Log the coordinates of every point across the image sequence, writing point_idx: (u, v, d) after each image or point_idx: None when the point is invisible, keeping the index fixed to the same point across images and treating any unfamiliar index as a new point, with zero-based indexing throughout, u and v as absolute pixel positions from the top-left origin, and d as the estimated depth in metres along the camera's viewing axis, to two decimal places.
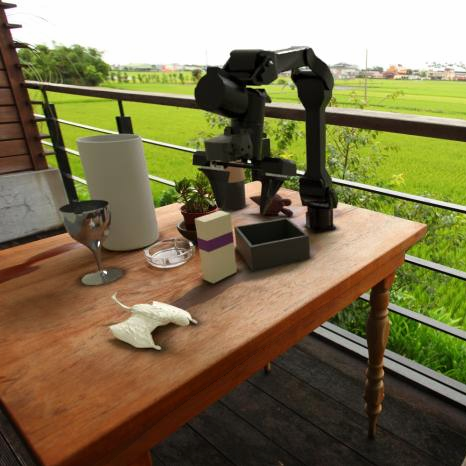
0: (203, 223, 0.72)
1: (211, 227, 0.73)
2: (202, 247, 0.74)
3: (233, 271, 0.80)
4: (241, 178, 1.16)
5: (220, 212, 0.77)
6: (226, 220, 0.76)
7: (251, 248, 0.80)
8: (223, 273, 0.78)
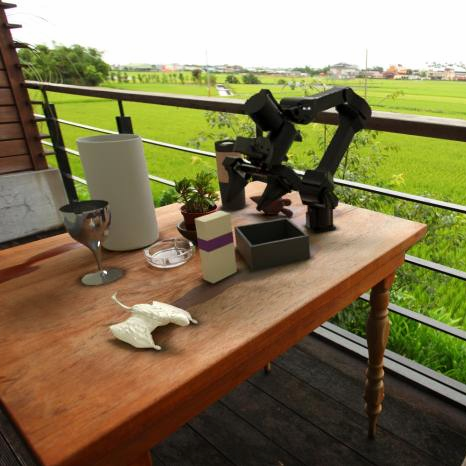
0: (203, 223, 0.72)
1: (211, 227, 0.73)
2: (202, 247, 0.74)
3: (233, 271, 0.80)
4: None
5: (220, 212, 0.77)
6: (226, 220, 0.76)
7: (251, 248, 0.80)
8: (223, 273, 0.78)
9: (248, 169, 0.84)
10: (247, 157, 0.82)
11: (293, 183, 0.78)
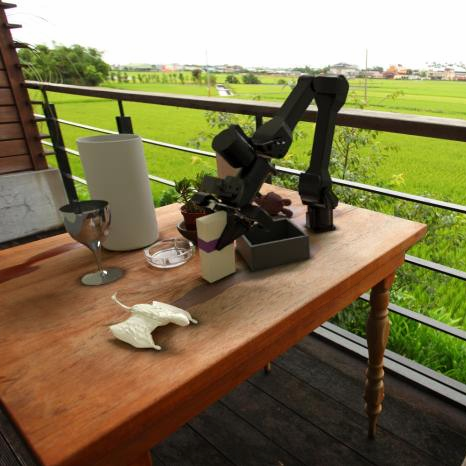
0: (203, 224, 0.71)
1: (212, 229, 0.73)
2: (202, 247, 0.74)
3: (232, 271, 0.80)
4: None
5: (222, 212, 0.76)
6: None
7: (251, 248, 0.80)
8: (221, 273, 0.78)
9: (227, 209, 0.78)
10: (217, 195, 0.77)
11: (264, 224, 0.74)
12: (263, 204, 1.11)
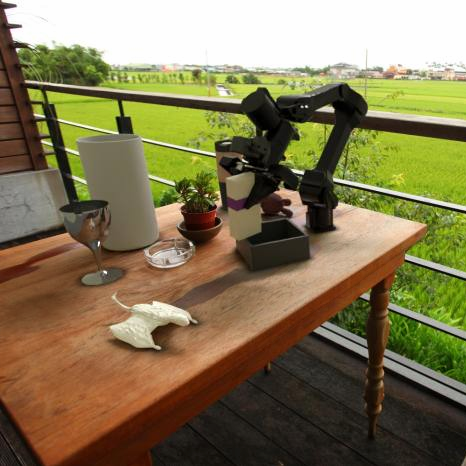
0: (233, 183, 0.75)
1: (241, 188, 0.76)
2: (231, 206, 0.78)
3: (258, 231, 0.84)
4: None
5: (250, 173, 0.79)
6: None
7: (251, 248, 0.80)
8: (248, 232, 0.82)
9: (254, 171, 0.81)
10: (244, 157, 0.80)
11: (291, 183, 0.77)
12: (263, 204, 1.11)
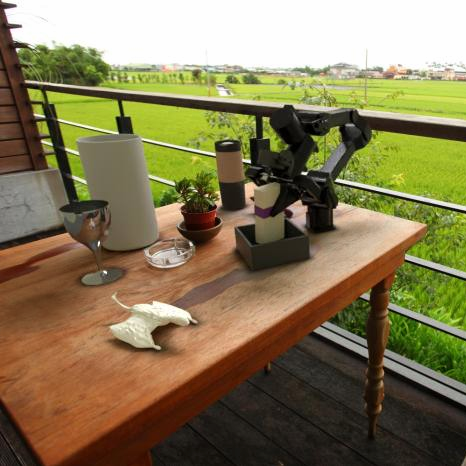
0: (261, 193, 0.81)
1: (268, 197, 0.82)
2: (258, 214, 0.84)
3: (281, 237, 0.90)
4: (241, 178, 1.16)
5: (275, 184, 0.85)
6: None
7: (251, 248, 0.80)
8: (273, 238, 0.88)
9: (279, 181, 0.88)
10: (269, 168, 0.87)
11: (314, 193, 0.83)
12: None
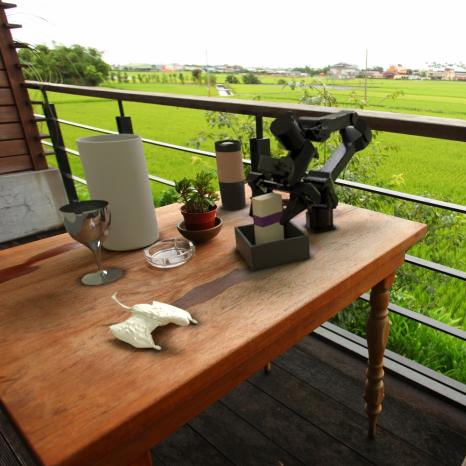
0: (259, 201, 0.83)
1: (265, 206, 0.84)
2: (257, 223, 0.86)
3: None
4: (241, 178, 1.16)
5: (273, 193, 0.87)
6: (278, 200, 0.86)
7: (251, 248, 0.80)
8: None
9: (270, 185, 0.89)
10: (270, 174, 0.87)
11: (314, 199, 0.83)
12: None
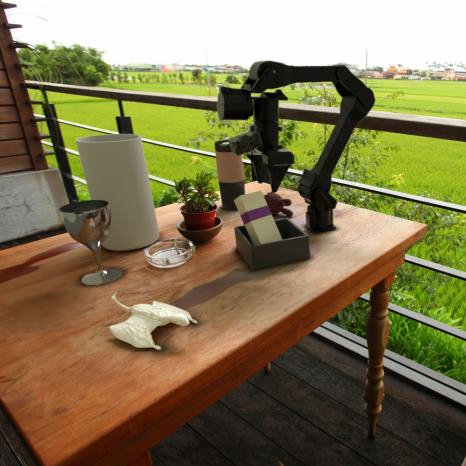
0: (239, 198, 0.87)
1: (247, 200, 0.88)
2: (245, 221, 0.88)
3: None
4: (241, 178, 1.16)
5: None
6: (259, 195, 0.90)
7: (251, 248, 0.80)
8: (270, 240, 0.89)
9: None
10: None
11: (284, 163, 0.84)
12: None
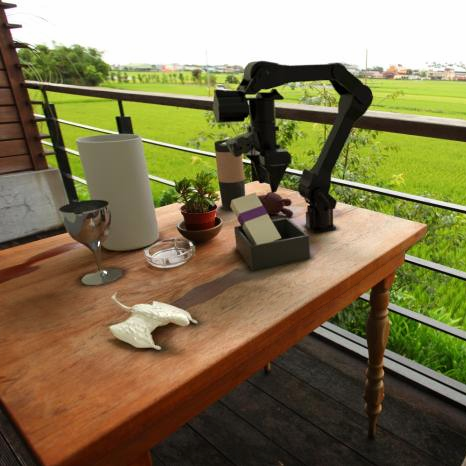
0: (232, 202, 0.89)
1: (239, 203, 0.89)
2: (241, 223, 0.89)
3: (277, 237, 0.89)
4: (241, 178, 1.16)
5: None
6: (253, 197, 0.91)
7: (251, 248, 0.80)
8: (266, 238, 0.88)
9: None
10: None
11: (281, 163, 0.84)
12: (263, 204, 1.11)
